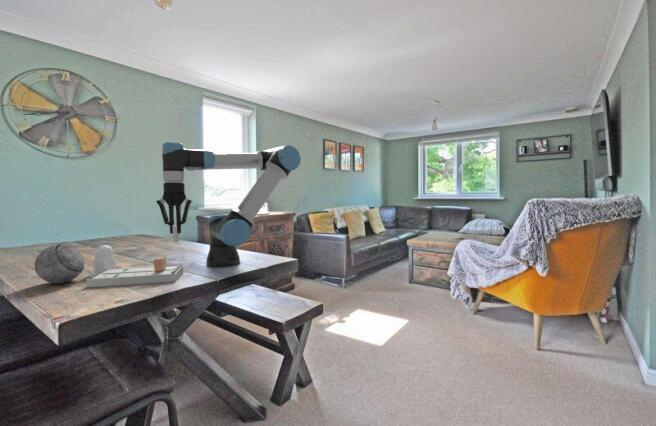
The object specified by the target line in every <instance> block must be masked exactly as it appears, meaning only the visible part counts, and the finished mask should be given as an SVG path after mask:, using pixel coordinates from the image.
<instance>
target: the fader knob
mask: <svg viewBox="0 0 656 426" xmlns="http://www.w3.org/2000/svg"><path fill="white" fill-rule="evenodd" d="M153 266H154V271H155V272H157V271H164V270H165V269H166V267H167V258H166V256H158V257H155V258H154V259H153Z"/></svg>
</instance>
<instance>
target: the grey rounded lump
mask: <svg viewBox="0 0 656 426" xmlns="http://www.w3.org/2000/svg"><path fill="white" fill-rule="evenodd" d="M84 268H85V259H84V256H83V255H82V253H81V252H80V251H79V250H78V249H76V248H75V247H74V246H71V245H69V244H66V243H56V244H54V245H50V246H47V247H46V248H44V249H43V250H42V251H41V252H39V254H38V255H37V256H36V259H35V261H34V270H35V273H36V275H37V276H38V278H40V279H41V280H43V281H45V282H48V283H50V284H65V283H68V282H70V281H73V280H74V279H75V278H77V277H79V275H81V273H82V272H83V271H84Z"/></svg>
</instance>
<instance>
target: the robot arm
mask: <svg viewBox="0 0 656 426" xmlns="http://www.w3.org/2000/svg"><path fill="white" fill-rule="evenodd" d="M161 147H162V148H161V149H162V151H161V153H162V154H161V157H162V181H163V182H164V183H163V187H162V188H163V194H162V198H160V199H157V200H156V203H157V205H158V206H159V209H160V212H161V217H162V218H163V222H164V224H165V225H168V226H169V233H170V235H172V243H179V241H180V239H179V236H180V234H181V233H182V225H183V224H186V222H187V220H188V214H189V209H190V205H192V203H193V200H192V199H190V198H187V195H186V193H185V190H186V189H185V183H184V182H185V170H186V171H189V172H190V171H191V172H193V171H203V170H205V171H207V170H209V171H210V170H245V169H248V170H249V169H251V170H252V169H256V170H257V171H263V172H262V173H261V175H260V176H259V177H258V179H257V180H256V181H255V183H254V185H253V186H252V187H251V189H250V190H249V191H248V193H247V194H246V195H245V197H244V198H243V199H242V201H241V202H240V203H239V205H238V206H237V207H236V208H235V209H231V210H230V212H229V213H227V214H216V215H211V216H209V218H208V234H209V235H208V237H209V250H208V253H207V257H206V261H205V262H206V266H208V267H213V268H222V267H223V268H224V267H230V266H231V267H232V266H237V265H238V264H240V263H241V258H240V254H239V253H238V250H237V247H239V246H242V245H243V244H245V243H246V242H247V241H248V240H249V238H250V237H251V236H250V235H251V229H252V228H253V226H254V221H253V220H254V219H255V217H257V215H258V213H259V212H260V210H261V209H262V208H263V206H264V204H265V203H266V202H267V201H268V199H269V197H271V195H272V193H273V192H274V190H275V189H276V188H277V187H278V185H279V183H280V182H281V181H282V180H283V179H287V178H288V176H289V175H290V173H291V172H292V171H295V170H297V168H299V166H300V164H301V153H300V152H299V150H298V149H297V148H296V147H294V145H293V146H292V145H289V144H285V145H282V146H278V147H274V148H270V149H266V150H257V151H256V152H214V151H212V150H207V149H194V148H193V149H190V148H184V144H183V143H181V142H176V141H175V142H174V141H168V142H167V141H166V142H163V144H162V146H161ZM165 203H166V205H167V206H168V213H167V210H166V207H165ZM183 203H185V205H184V209H183V213H182V212H181V211H182V210H181V209H182V204H183ZM174 210H175V211H174ZM175 217H176V219H175ZM175 220H176V223H175Z"/></svg>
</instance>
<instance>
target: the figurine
mask: <svg viewBox="0 0 656 426" xmlns="http://www.w3.org/2000/svg"><path fill="white" fill-rule="evenodd" d="M116 265H117V260H116V258H114V249H113V247H111V246H110V245H106V244H105V245H101V246H99V247H98V248H97V249H96V251H95V254H94V259H93V271H94V272H93V274H95V273H97V272H99V271H101V270H103V269H107V270H115V267H116Z"/></svg>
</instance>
